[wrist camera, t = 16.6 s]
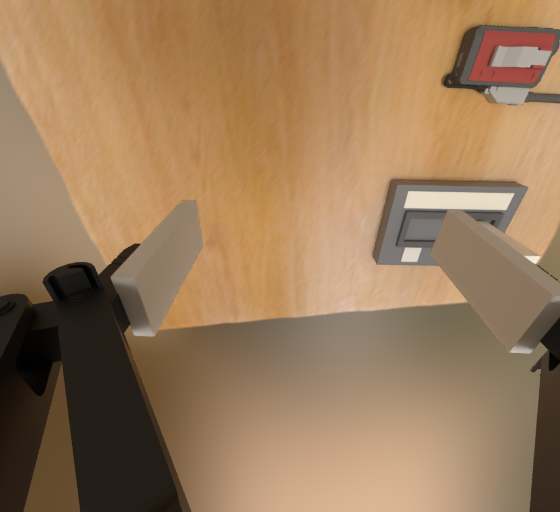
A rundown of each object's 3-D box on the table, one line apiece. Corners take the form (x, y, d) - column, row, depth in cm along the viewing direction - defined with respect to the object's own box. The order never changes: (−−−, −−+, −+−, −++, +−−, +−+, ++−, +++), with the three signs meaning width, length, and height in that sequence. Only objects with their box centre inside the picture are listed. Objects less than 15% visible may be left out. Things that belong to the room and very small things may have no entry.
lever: (467, 220, 47) (519, 255, 37) (484, 220, 47) (540, 256, 37) (459, 239, 49) (505, 278, 39) (475, 240, 49) (526, 279, 39)
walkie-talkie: (434, 101, 41) (560, 107, 41) (449, 102, 37) (589, 109, 37) (456, 26, 36) (599, 34, 37) (477, 19, 32) (636, 28, 33)
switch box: (391, 179, 47) (399, 186, 43) (515, 182, 47) (532, 188, 44) (372, 256, 55) (378, 266, 52) (477, 258, 55) (489, 268, 52)
